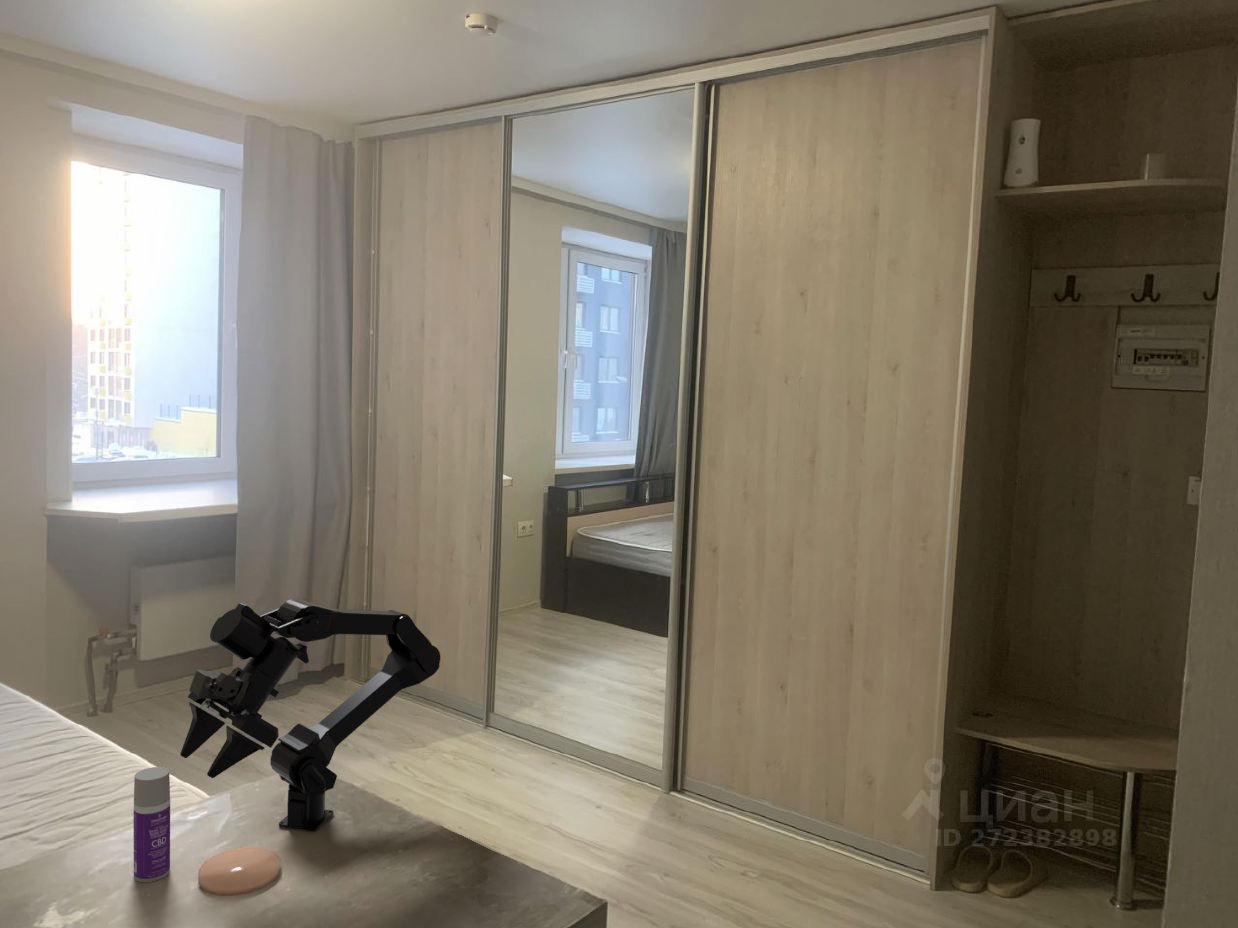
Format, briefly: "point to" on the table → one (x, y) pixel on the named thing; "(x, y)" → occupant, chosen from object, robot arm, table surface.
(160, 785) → the container
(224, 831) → the table surface
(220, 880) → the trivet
